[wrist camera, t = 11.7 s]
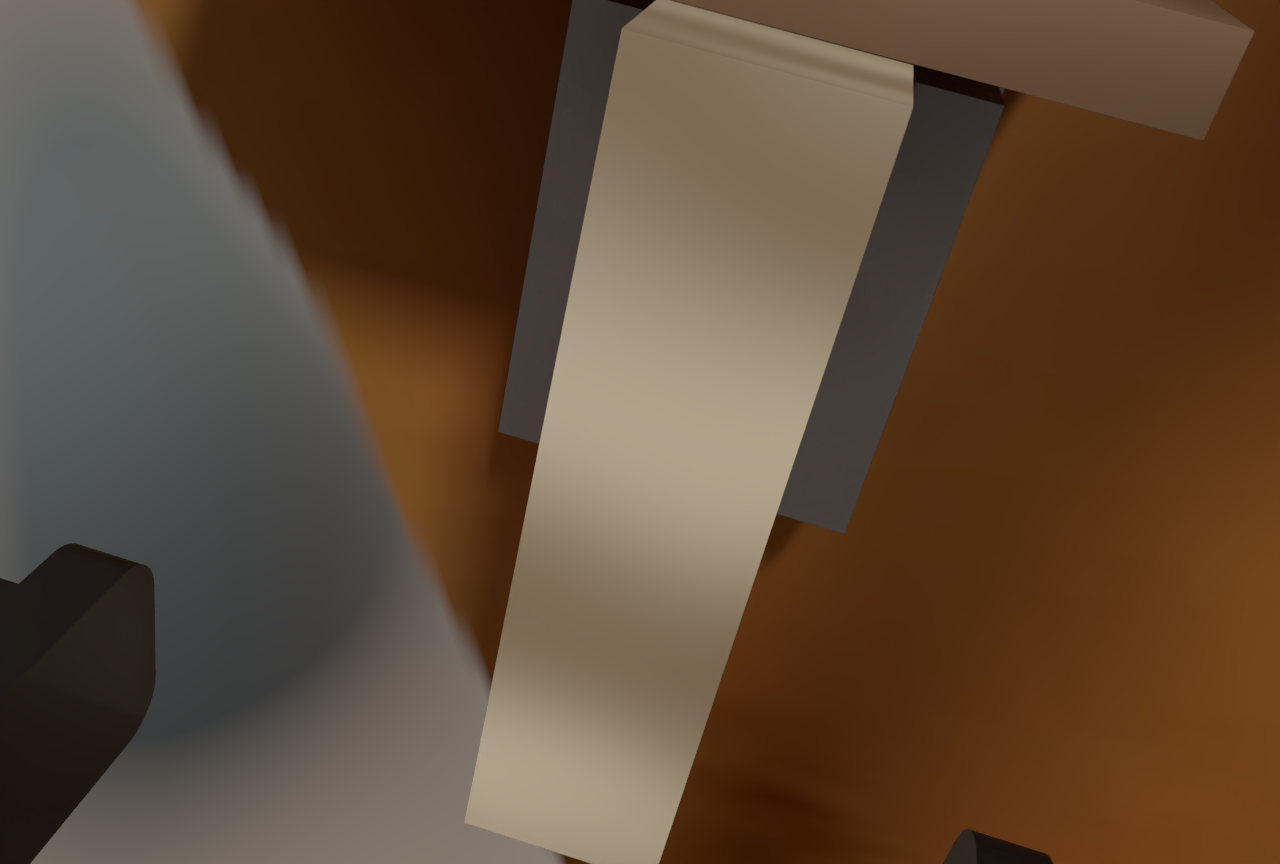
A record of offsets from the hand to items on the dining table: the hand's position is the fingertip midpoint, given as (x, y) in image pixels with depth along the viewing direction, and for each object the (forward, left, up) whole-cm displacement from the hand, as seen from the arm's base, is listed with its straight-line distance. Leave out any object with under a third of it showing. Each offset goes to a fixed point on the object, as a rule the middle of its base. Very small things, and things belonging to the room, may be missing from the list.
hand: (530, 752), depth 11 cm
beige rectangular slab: (0, 0, -15) cm, 15 cm away
